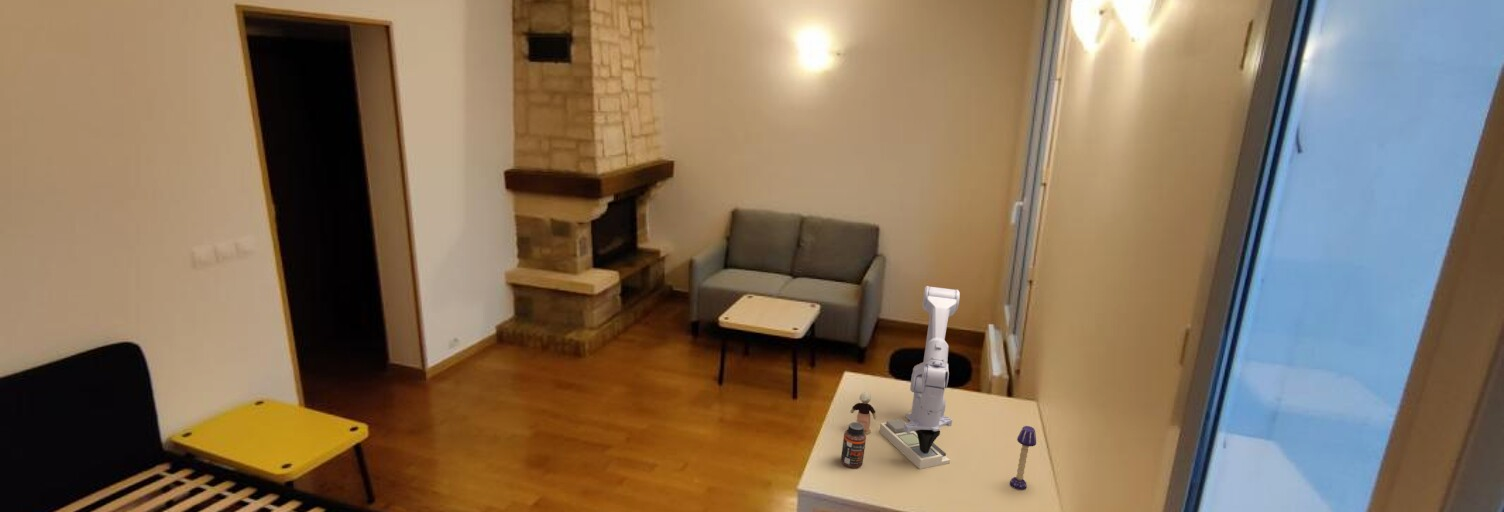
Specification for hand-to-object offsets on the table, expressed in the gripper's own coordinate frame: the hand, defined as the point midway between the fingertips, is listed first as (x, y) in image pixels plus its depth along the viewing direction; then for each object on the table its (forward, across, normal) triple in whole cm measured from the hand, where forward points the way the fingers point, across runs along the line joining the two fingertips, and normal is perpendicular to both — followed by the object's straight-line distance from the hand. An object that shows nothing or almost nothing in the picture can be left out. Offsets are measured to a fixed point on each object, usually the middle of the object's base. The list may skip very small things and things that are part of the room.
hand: (923, 451), depth 194 cm
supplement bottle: (+3, -20, +4) cm, 21 cm away
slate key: (+1, 0, 0) cm, 1 cm away
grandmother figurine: (+3, -9, +18) cm, 21 cm away
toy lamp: (+3, +18, -18) cm, 25 cm away
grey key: (0, 0, +13) cm, 13 cm away
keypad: (+3, +1, +7) cm, 7 cm away
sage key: (+1, 0, +6) cm, 7 cm away
